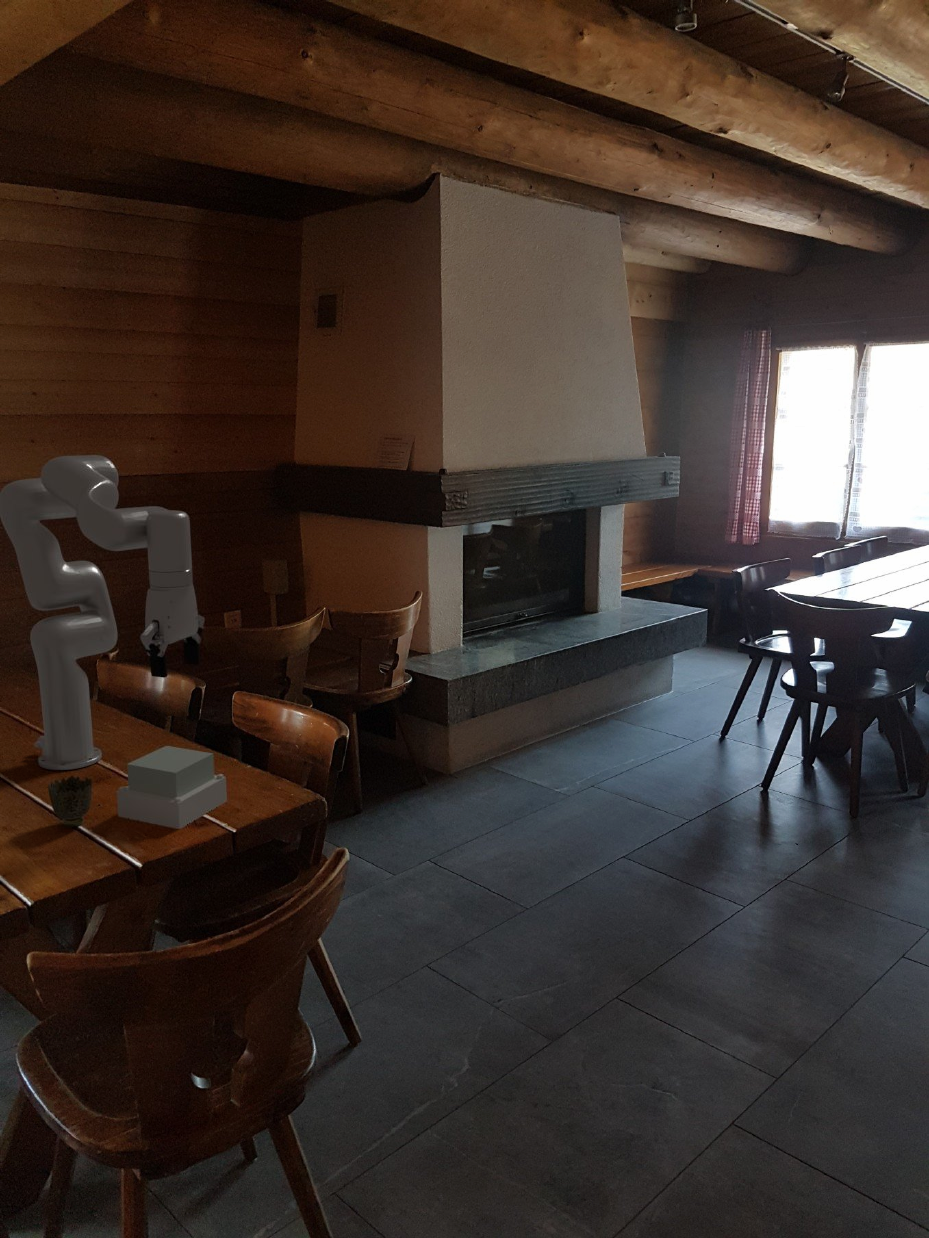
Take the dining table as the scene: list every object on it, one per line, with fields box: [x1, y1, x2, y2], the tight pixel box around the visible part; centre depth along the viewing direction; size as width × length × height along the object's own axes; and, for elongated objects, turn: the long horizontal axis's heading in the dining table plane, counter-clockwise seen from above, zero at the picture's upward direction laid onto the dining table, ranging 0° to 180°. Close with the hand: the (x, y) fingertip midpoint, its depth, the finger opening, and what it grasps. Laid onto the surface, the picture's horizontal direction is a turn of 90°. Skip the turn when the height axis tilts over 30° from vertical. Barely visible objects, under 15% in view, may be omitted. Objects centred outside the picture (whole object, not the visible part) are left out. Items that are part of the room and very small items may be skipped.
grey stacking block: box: [116, 745, 228, 830], centre depth 184 cm, size 14×14×10 cm
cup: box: [47, 775, 93, 828], centre depth 177 cm, size 8×7×8 cm
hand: (176, 670), depth 181 cm, fingers open, 9 cm apart
